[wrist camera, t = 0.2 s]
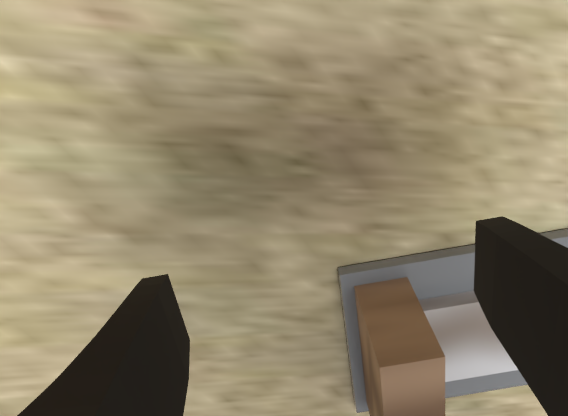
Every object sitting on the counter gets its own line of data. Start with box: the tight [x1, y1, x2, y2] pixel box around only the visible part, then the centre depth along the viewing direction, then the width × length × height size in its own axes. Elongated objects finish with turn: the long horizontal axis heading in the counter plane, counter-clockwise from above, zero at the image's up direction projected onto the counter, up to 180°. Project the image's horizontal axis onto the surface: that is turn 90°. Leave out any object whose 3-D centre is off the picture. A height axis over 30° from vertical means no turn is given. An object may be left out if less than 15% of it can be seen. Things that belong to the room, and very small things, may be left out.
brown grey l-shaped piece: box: [354, 277, 518, 416], centre depth 23 cm, size 8×12×5 cm, turn 99°
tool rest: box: [338, 229, 568, 413], centre depth 26 cm, size 10×14×1 cm
